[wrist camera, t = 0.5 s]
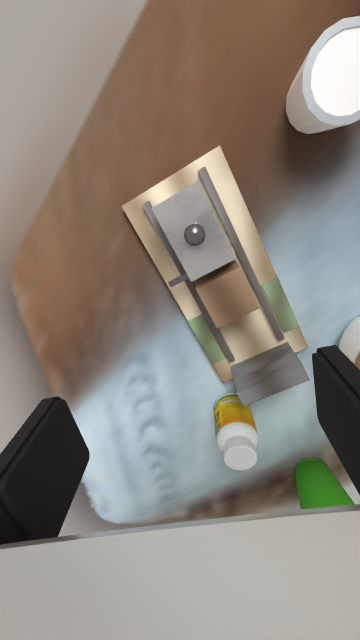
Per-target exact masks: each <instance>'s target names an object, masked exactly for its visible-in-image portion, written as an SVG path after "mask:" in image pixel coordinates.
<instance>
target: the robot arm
mask: <svg viewBox="0 0 360 640" xmlns="http://www.w3.org/2000/svg"><path fill="white" fill-rule="evenodd" d="M312 362H313V373H314V384H315V394H316V405H317V415H318V420H319V423H320V425H321V427H322V429H323V430H324V432H325V434H326V436H327V438H328V439H329V441H330V443H331V445H332V446H333V448H334V450H335V452H336V454H337V455H338V457H339V459H340V461H341V463H342V464H343V466H344V468H345V470H346V471H347V473H348V475H349V477H350V479H351V480H352V482H353V484H354V486H355V488H356V489H357V491H358V493H359V495H360V369H359V368H358V367H357V366H356V365H355V364H354V363H353V362H352V361H351V360H350V359H349V358H348V357H347V356H346V355H345V354H344V353H343V352H342V351H341V350H340V349H339V348H338V347H337V346H336V345H333V346H327V347H322V348H318V349H317V353H313V354H312ZM88 461H89V450H88V448H87V446H86V444H85V441H84V439H83V437H82V435H81V433H80V431H79V429H78V426H77V424H76V422H75V420H74V418H73V416H72V414H71V411H70V409H69V407H68V405H67V403H66V401H65V400H63V399H61V398H60V397H58V396H57V397H52V398H47V399H43V400H42V401H41V402H40V403H39V404H38V406H37V407H36V408H35V410H34V411H33V412H32V414H31V415H30V416H29V417H28V419H27V420H26V421H25V423H24V424H23V425H22V427H21V428H20V429H19V431H18V432H17V433H16V435H15V436H14V437H13V438H12V440H11V441H10V442H9V444H8V445H7V446H6V448H5V449H4V450H3V451H2V453H1V454H0V640H360V505H343V506H332V507H321V508H310V509H300V510H289V511H279V512H270V513H261V514H252V515H243V516H234V517H225V518H216V519H207V520H198V521H189V522H180V523H172V524H163V525H155V526H146V527H137V528H129V529H120V530H112V531H103V532H95V533H87V534H79V535H70V536H62V537H58V535H59V532H60V530H61V527H62V525H63V522H64V520H65V517H66V515H67V513H68V510H69V508H70V505H71V503H72V500H73V498H74V495H75V493H76V491H77V488H78V486H79V483H80V481H81V478H82V476H83V473H84V471H85V469H86V466H87V464H88Z"/></svg>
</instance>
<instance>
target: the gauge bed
mask: <svg viewBox="0 0 360 640" xmlns="http://www.w3.org/2000/svg"><path fill="white" fill-rule="evenodd" d="M198 180H199V182H200V184H201V186H202V188H203V190H204V192H205V194H206V196H207V198H208V201H209V203H210V205H211V207H212V209H213V211H214V213H215V215H216V217H217V219H218V222H219V224H220V226H221V228H222V230H223V232H224V234H225V236H226V238H227V240H228V242H229V245H230V247H231V249H232V251H233V253H234V255H235V257H236V259H235V260H236V261H237V263H238V265H239V266H240V268H241V270H242V272H243V274H244V276H245V278H246V280H247V283H248V285H249V287H250V289H251V291H252V293H253V295H254V297H255V299H256V301H257V303H258V306H259V308H260V309H257V310H255V311H253V312H251V313H249V314H247V315H245V316H242V317H240V318H238V319H236V320H234V321H232V322H230V323H227V324H225V325H223V326H221V327H219V328H217V327H216V326H215V324H214V322H213V320H212V318H211V316H210V315H209V313H208V311H207V309H206V307H205V305H204V304H203V302H202V300H201V298H200V296H199V294H198V293H197V291H196V280H194V281H192V282H191V281H190V279H189V278H188V279H186V280H185V281H183V282H181V283H179V284H177V285H175V286H173V287H170V285H169V284H168V281H170V280H172V279H174V278H176V277H178V276H180V275H182V274H183V273H185V272H186V271H185V270H184V268H183V266H182V264H181V262H180V260H179V259H178V257H177V255H176V253H175V251H174V249H173V248H172V246H171V244H170V242H169V240H168V238H167V237H166V235H165V233H164V231H163V229H162V227H161V226H160V224H159V222H158V220H157V218H156V216H155V215H154V213H153V211H152V209H151V208H153V207H154V206H156V205H158V204H159V203H161V202H163V201H164V200H166V199H168V198H169V197H171V196H173V195H174V194H176V193H178V192H179V191H181V190H183V189H184V188H186V187H188V186H189V185H191V184H193V183H194V182H196V181H198ZM122 208H123V210H124V211H125V213H126V215H127V217H128V218H129V220H130V222H131V223H132V225H133V227H134V229H135V230H136V232H137V234H138V236H139V237H140V239H141V241H142V242H143V244H144V246H145V248H146V249H147V251H148V253H149V255H150V256H151V258H152V260H153V262H154V263H155V265H156V267H157V268H158V270H159V272H160V274H161V275H162V277H163V279H164V281H165V282H166V284H167V286H168V287H169V289H170V291H171V293H172V294H173V296H174V298H175V300H176V301H177V303H178V305H179V306H180V308H181V310H182V312H183V313H184V315H185V317H186V319H187V320H188V323H189V324H190V326H191V328H192V330H193V331H194V333H195V335H196V337H197V338H198V340H199V342H200V343H201V345H202V347H203V349H204V350H205V352H206V354H207V356H208V357H209V359H210V361H211V362H212V364H213V365H214V367H215V369H216V370H217V372H218V374H219V376H220V377H221V379H222V381H223V383H225V382H227V381H230V380H232V379H234V384H235V389H236V393H237V395H238V397H239V399H240V400H241V402H242V404H243V406H245V405H247V404H250V403H252V402H255V401H257V400H260V399H263V398H265V397H268V396H270V395H273V394H275V393H278V392H280V391H283V390H285V389H288V388H290V387H293V386H295V385H298V384H301V383H303V382H306V381H308V380H309V377H308V375H307V373H306V371H305V369H304V366H303V365H302V363H301V362H300V360H299V359H298V357H297V355H296V354H295V353H296V352H299V351H301V350H304V349H306V348H308V346H307V344H306V342H305V339H304V337H303V335H302V332H301V330H300V328H299V325H298V323H297V321H296V318H295V316H294V314H293V311H292V309H291V307H290V304H289V302H288V300H287V298H286V295H285V293H284V291H283V288H282V286H281V284H280V282H279V279H278V277H277V275H276V273H275V271H274V269H273V266H272V264H271V262H270V259H269V257H268V255H267V253H266V250H265V248H264V246H263V243H262V241H261V239H260V237H259V234H258V232H257V230H256V227H255V225H254V223H253V221H252V218H251V216H250V214H249V211H248V209H247V207H246V205H245V202H244V200H243V198H242V195H241V193H240V191H239V189H238V186H237V184H236V182H235V179H234V177H233V175H232V173H231V170H230V168H229V166H228V163H227V161H226V159H225V157H224V154H223V152H222V150H221V147H220V146H218V147H217V148H215V149H213V150H212V151H210V152H208V153H207V154H205V155H204V156H202V157H200V158H199V159H197V160H196V161H194V162H192V163H191V164H189V165H188V166H186V167H184V168H183V169H181V170H179V171H178V172H176V173H175V174H173V175H171V176H170V177H168V178H167V179H165V180H163V181H162V182H160V183H159V184H157V185H155V186H154V187H152V188H150V189H149V190H147V191H146V192H144V193H142V194H141V195H139V196H138V197H136V198H134V199H133V200H131V201H130V202H128V203H126V204H125V205H123V206H122Z"/></svg>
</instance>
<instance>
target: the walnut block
mask: <svg viewBox="0 0 360 640" xmlns="http://www.w3.org/2000/svg"><path fill="white" fill-rule="evenodd" d="M196 291H197V293H198V294H199V296H200V298H201V300H202V302H203V304H204V305H205V307H206V309H207V311H208V313H209V315H210V316H211V318H212V320H213V322H214V324H215V326H216V327H217V328H219V327H221V326H223V325H225V324H227V323H230V322H232V321H234V320H236V319H238V318H240V317H242V316H245V315H247V314H249V313H251V312H253V311H255V310H257V309H260V308H259V306H258V303H257V301H256V299H255V297H254V295H253V293H252V291H251V289H250V287H249V285H248V283H247V280H246V278H245V276H244V274H243V272H242V270H241V268H240V266H239V265H238V263H237V261H236V260H233V261H231V262H229V263H227V264H225V265H223V266H221V267H219V268H217V269H215V270H213V271H211V272H209V273H208V274H206V275H204V276H202V277H200V278H198V279H196Z"/></svg>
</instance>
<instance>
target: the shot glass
mask: <svg viewBox="0 0 360 640" xmlns="http://www.w3.org/2000/svg"><path fill="white" fill-rule="evenodd" d="M286 113H287V116H288V119H289V122H290V124H291V125H292V126H293V127H294V128H295V129H296V130H297V131H300V132H303V133H306V134H312V133H319V132H323V131H326V130H330V129H334V128H337V127H341V126H345V125H348V124H352V123H354V122H355V121H357V120H359V119H360V16H356V17H350V18H344V19H342V20H340V21H339V22H337V23H335V24H334V25H332V26H331V27H329V28H328V29H326V30H325V31H324V32H323V34H322V35H321V36H320V37H319V39H318V40H317V41H316V43H315V44H314V45H313V47H312V48H311V49H310V51H309V53H308V55H307V57H306V59H305V60H304V62H303V64H302V66H301V68H300V70H299V71H298V73H297V75H296V77H295V79H294V81H293V82H292V84H291V86H290V89H289V92H288V95H287V97H286Z"/></svg>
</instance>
